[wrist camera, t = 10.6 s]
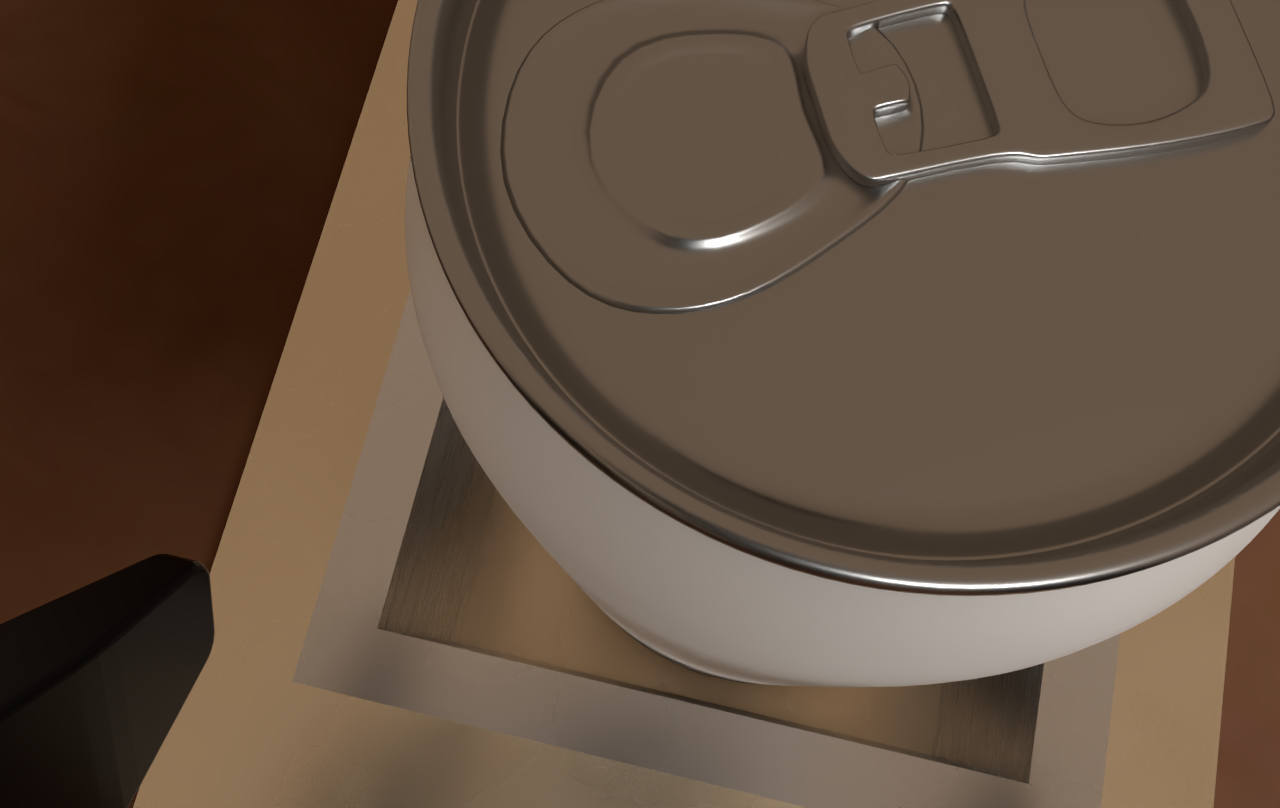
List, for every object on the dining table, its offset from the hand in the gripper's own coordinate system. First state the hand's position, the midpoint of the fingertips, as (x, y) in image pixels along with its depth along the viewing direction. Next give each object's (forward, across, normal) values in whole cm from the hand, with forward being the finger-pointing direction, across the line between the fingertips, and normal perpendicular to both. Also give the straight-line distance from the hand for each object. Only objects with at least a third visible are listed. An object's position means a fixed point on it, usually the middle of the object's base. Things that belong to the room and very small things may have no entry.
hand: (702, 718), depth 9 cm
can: (+8, 0, +3) cm, 9 cm away
